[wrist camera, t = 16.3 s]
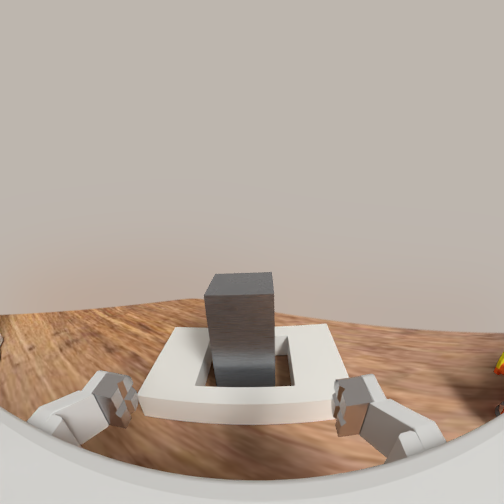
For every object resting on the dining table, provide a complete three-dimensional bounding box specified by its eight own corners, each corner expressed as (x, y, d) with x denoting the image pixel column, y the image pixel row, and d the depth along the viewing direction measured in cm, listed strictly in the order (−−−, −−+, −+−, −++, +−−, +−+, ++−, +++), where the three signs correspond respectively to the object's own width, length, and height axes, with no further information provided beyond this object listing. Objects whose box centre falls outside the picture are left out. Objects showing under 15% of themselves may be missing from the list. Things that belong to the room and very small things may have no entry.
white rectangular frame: (144, 415, 19) (136, 395, 18) (179, 345, 30) (175, 327, 30) (350, 416, 18) (356, 395, 17) (324, 342, 29) (326, 323, 29)
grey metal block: (218, 396, 22) (203, 295, 19) (225, 364, 27) (215, 274, 24) (275, 396, 21) (273, 293, 19) (273, 364, 26) (271, 272, 24)
